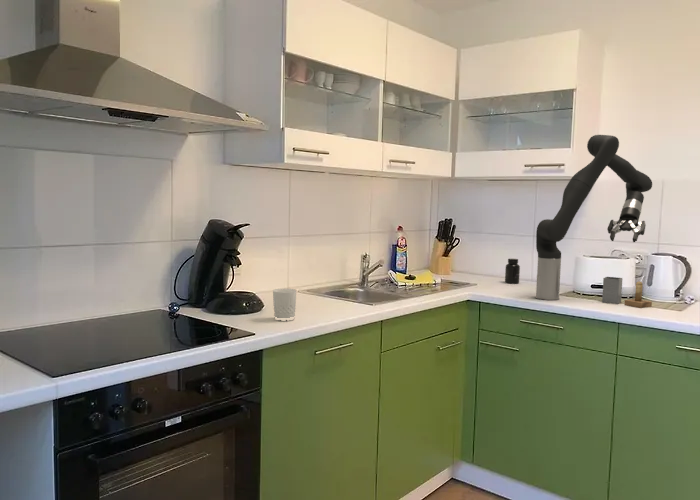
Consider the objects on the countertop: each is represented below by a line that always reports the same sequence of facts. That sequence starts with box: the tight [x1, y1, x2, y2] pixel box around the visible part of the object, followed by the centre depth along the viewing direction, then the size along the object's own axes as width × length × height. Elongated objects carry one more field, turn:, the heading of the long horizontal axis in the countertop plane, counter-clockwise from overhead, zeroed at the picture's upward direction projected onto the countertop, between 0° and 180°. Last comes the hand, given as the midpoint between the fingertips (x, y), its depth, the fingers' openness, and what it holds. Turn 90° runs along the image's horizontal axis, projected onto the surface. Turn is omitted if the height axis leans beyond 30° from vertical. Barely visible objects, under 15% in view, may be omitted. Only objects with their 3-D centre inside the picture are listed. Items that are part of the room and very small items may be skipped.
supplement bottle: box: [504, 258, 521, 285], centre depth 290 cm, size 7×7×12 cm
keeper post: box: [624, 280, 653, 309], centre depth 234 cm, size 7×7×10 cm
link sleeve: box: [601, 276, 623, 305], centre depth 241 cm, size 6×6×10 cm
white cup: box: [272, 288, 297, 318], centre depth 199 cm, size 8×8×10 cm
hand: (622, 240), depth 248 cm, fingers open, 8 cm apart
